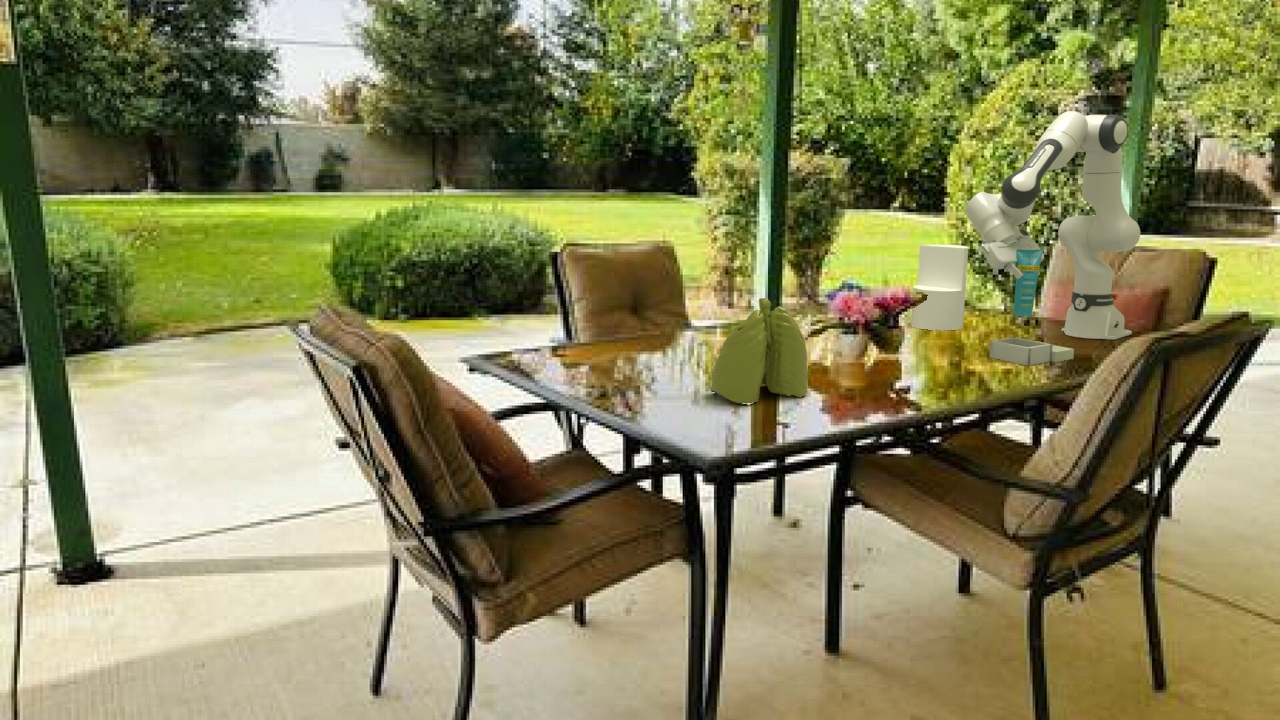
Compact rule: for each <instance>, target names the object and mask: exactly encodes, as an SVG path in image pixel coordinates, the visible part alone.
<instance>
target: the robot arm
mask: <svg viewBox="0 0 1280 720" xmlns="http://www.w3.org/2000/svg"><path fill="white" fill-rule="evenodd" d="M1128 125H1129V124H1128V123H1127V121H1126V120H1125V118H1124V117H1123V116H1120V115H1117V114H1112V113H1111V114H1089V115H1084V114H1082V113H1081V112H1079V111H1075V110H1068V111H1065V112H1063V113H1061V114H1060V115H1059V116H1058V117H1056V118H1055V119H1054V120H1053V122H1051V124H1049V126H1048V127H1047V128H1046V130H1045V131H1044V132H1043V134H1042V135H1041V137H1040V138H1039V139H1038V141H1037V143H1036V145H1035V148H1034V150H1033V153H1032V154H1031V155H1030V157H1029V158H1028V159H1027V160H1026V162H1025V163H1024V164H1023V165H1022V166H1021V167H1020V168H1019V169H1017V170H1016V171H1014V172H1013V173H1011V174H1010V175H1008V176H1007V177H1006V178H1005V179H1004V180H1003V183H1002V185H1001V192H1000V193H997V194H996V193H995V194H994V193H988V192H986V191H980V192H978V193H976V194H975V195H973V197H971V199H970V200H969V201H968V202H967V203H966V206H965V214H966V216H967V217H968V220H969V221H970V223H971V224H972V226H973V227H974V228H975V230H976V231H977V232H978V233H979V234H980V235H981V238H982V240H983V241H982V243H981V245H980V246H981V249H982V250H983V256H984V257H985V259H986V261H987V263H988V264H989V265H990V268H992V269H993V270H1003V269H1006V270H1007V271H1008V272H1009V273H1010V274H1012V275H1014V277H1015V279H1016V278H1017V279H1022V277H1024V273H1023V272H1022V271H1020V270H1018V269H1017V268H1016V262H1017V258H1016V250H1017V249H1029V250H1030V249H1041V248H1040V247H1039V245H1038V244H1037V242H1036V241H1035V240H1034V239H1033V238H1031V236H1032V235H1031V233H1030V232H1029V230H1025V229H1022V228H1019V227H1017V226H1020V225H1023V224H1025V223H1026V222H1027V221H1028V220H1029V219H1030V216H1031V215H1032V212H1033V208H1034V206H1035V202H1036V201H1037V199H1038V196H1039V193H1040V189H1041V182H1042V179H1043V177H1044V176H1045V175H1046V174H1047V173H1048V171H1049V170H1060V169H1062V168H1064V166H1066V165H1067V164H1068V163H1069V162H1070V161H1071V159H1073V157H1074V155H1076V153H1077V152H1078V153H1085V156H1084V163H1083V169H1082V170H1083V172H1082V175H1083V176H1082V186H1081V188H1082V189H1081V196H1082V199H1083V200H1084V201H1085V202H1086V203H1087V204H1089V205H1090V206H1092V208H1093V210H1094V213H1095V215H1084V214H1083V215H1076V216H1075V215H1073V216H1069V217H1066V218H1065V219H1064V220H1062V222H1061V223H1060V225H1059V227H1058V230H1057V231H1058V233H1057V234H1058V239H1059V241H1060V243H1061V244H1062V245H1063V246H1064V247H1065V248H1066V249H1067V251H1068V253H1069V254H1070V256H1071V259H1072V262H1073V266H1074V283H1073V291H1072V293H1071V297H1070V302H1071V305H1070V306H1069V307H1068V308H1067V313H1066V317H1065V324H1064V327H1062V328H1061V332H1063V331H1064V332H1063V333H1065V334H1064V335H1066V336H1070V337H1074V338H1082V339H1093V340H1094V339H1097V340H1100V339H1102V340H1118V339H1121V338H1124V337H1127V336H1130V335H1132V334H1133V333H1132V330H1129V329H1125V323H1126V322H1125V316H1124V315H1123V313H1121V312H1120V310H1119V309H1117V308H1116V306H1115V305H1114V301H1118V300H1119V296H1120V295H1119V294H1118V293H1112V289H1113V287H1112V286H1113V278H1114V270H1113V268H1112V267H1111V266H1110V264H1108V263H1107V262H1106V261H1104V259H1103V258H1102V256H1101V253H1100V251H1101V252H1112V253H1116V252H1125V251H1130V250H1133V249H1134V248H1135V247H1136V246H1137V244H1138V243H1139V241H1140V238H1141V228H1140V226H1139V224H1138V222H1136V220H1134V219H1133V218H1132V217H1131V216H1130V215H1129V213H1128V212H1127V210H1126V208H1125V205H1124V202H1123V199H1122V178H1123V177H1122V176H1123V175H1122V174H1123V154H1122V153H1123V151H1122V150H1123V149H1122V147H1123V145H1124V144H1125V142H1126V141H1127V138H1128V135H1129V126H1128ZM1044 259H1045V254H1044V252H1043V253H1042V257H1041V262H1043V261H1044ZM1040 273H1041V272H1040V271H1039V273H1038V277H1039V276H1040Z"/></svg>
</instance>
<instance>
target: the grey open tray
mask: <svg viewBox="0 0 1280 720" xmlns="http://www.w3.org/2000/svg"><path fill="white" fill-rule="evenodd" d="M989 344H990V345H989V346H990V347H989V355H988V357H989V358H990V357H991V358H990V359H994V358H995V360H999V359H1000V360H999V361H1004V360H1005V362H1008V361H1009V363H1012V364H1013V363H1014V364H1018V365H1023V366H1032V365H1037V364H1043V363H1045V364H1046V363H1048V362H1054V363H1059V362H1063V361H1064V360H1065V361H1070V359H1071V360H1074V356H1075V355H1074V352H1075V348H1071V347H1067V346H1066V347H1065V346H1060V345H1055V344H1053V343H1047V342H1041V341H1036V340H1031V339H1026V338H1020V337H1015V336H1012V337H1007V338H1006V337H1005V338H1001V339H994V340H993V339H992V340H990V343H989Z"/></svg>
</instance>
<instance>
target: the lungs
mask: <svg viewBox="0 0 1280 720" xmlns="http://www.w3.org/2000/svg"><path fill="white" fill-rule="evenodd" d="M758 303H759V304H758V305H759V306H758V307H759V309H755V310H753V311H752V312H751V313H750V315H748V316H747V318H746V319H744V321H742V322H741V323H739V324H738V325H736V326H734V327H733V328H731V330H730V332H729V333H728V335H727V336H726V339H725V340H724V341H723V344H722V347H721V349H720V350H719V353H718V354H719V355H718V356H717V357H716V360H715V364H714V367H713V371H711V386H710V392H711V393H712V392H716V393H718V394H720V396H723V398H724V399H726V400H730V401H731V402H733V403H736V404H739V403H752V402H756V401H757V400H758V399H759V400H760V391H761V390H760V389H761V386H762V385H763V384H765V385H767V389H768V391H769V392H770V393H773V394H779V395H783V396H784V395H785V396H788V397H791V396H792V395H793V396H794V397H797V398H799V397H800V396H804V397H806V395H807V393H808V387H809V384H808V383H809V378H808V377H809V376H808V374H809V373H808V352H807V345H806V341H805V336H804V334H803V333H802V331H801V329H800V326H799V324H798V322H797V321H796V320H795V319H794V317H793V316H792V315H791V314H790V312H789V311H788V310H787V309H785V308H784V307H782V306H777V307H775V308H774V309H773V310H772V311H771V307H772V306H771V305H772V303H771V301H770V300H769V299H768V298H766V297H764V298H763V297H760V298H759V299H758ZM759 400H758V401H759Z"/></svg>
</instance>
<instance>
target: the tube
mask: <svg viewBox="0 0 1280 720" xmlns="http://www.w3.org/2000/svg"><path fill="white" fill-rule="evenodd" d="M1042 253H1043V254H1044V249H1042V248H1040V249H1030V250H1029V249H1017V250H1016V258H1017V262H1016V268H1017V269H1018V270H1020V271H1022V272H1023V273H1024V277H1022V279H1017V278H1016V277H1015V290H1014V304H1013V305H1014V306H1013V315H1014V316H1018V317H1030V318H1031V317H1032V316H1033V311H1034V310H1033V309H1034V303H1035V297H1036V289H1037V284H1038V277H1039V276H1038V273H1039V272H1040V268H1041V267H1040V266H1041V262H1042V261H1041V257H1042Z"/></svg>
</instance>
